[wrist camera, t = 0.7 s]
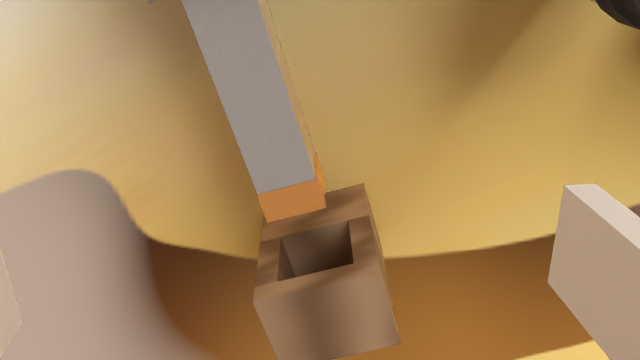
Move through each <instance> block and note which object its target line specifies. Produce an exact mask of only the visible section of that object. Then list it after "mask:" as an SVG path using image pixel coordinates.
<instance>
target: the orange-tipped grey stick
mask: <svg viewBox="0 0 640 360" xmlns="http://www.w3.org/2000/svg"><path fill="white" fill-rule="evenodd" d="M181 1H182V3H183V6H184V9H185V11H186V14H187V16H188V19H189V21H190V24H191V26H192V29H193V31H194V34H195V37H196V39H197V42H198V44H199V47H200V49H201V52H202V54H203V57H204V60H205V62H206V65H207V67H208V70H209V72H210V75H211V77H212V80H213V82H214V85H215V88H216V90H217V93H218V95H219V98H220V100H221V103H222V105H223V108H224V111H225V113H226V116H227V118H228V121H229V123H230V126H231V128H232V131H233V133H234V136H235V139H236V141H237V144H238V146H239V149H240V151H241V154H242V156H243V159H244V162H245V164H246V167H247V169H248V172H249V174H250V177H251V179H252V182H253V185H254V187H255V190H256V192H257V198H258V200H259V203H260V205H261V208H262V210H263V213H264V215H265V218H266V220H267V223H268V222H272V221H276V220H280V219H284V218H288V217H292V216H296V215H299V214H303V213H307V212H311V211H315V210H319V209H323V208H326V198H325V180H324V176H323V172H322V169H321V166H320V163H319V160H318V157H317V154H316V152H315V150H314V147H313V144H312V141H311V138H310V135H309V132H308V128H307V125H306V122H305V119H304V116H303V113H302V110H301V107H300V103H299V100H298V97H297V94H296V91H295V88H294V85H293V82H292V78H291V75H290V72H289V69H288V66H287V63H286V60H285V57H284V53H283V50H282V47H281V44H280V41H279V38H278V35H277V32H276V28H275V25H274V22H273V19H272V16H271V13H270V10H269V7H268V3H267V0H181Z"/></svg>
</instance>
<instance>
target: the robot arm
mask: <svg viewBox="0 0 640 360" xmlns="http://www.w3.org/2000/svg"><path fill="white" fill-rule="evenodd" d="M548 283H549V284H550V286H551V287H552V288H553V289H554V291H555V292H556V293H557V294H558V296H559V297H560V298H561V299H562V301H563V302H564V303H565V304H566V306H567V307H568V308H569V309H570V311H571V312H572V313H573V314H574V315H575V317H576V318H577V319H578V320H579V322H580V323H581V324H582V325H583V327H584V328H585V329H586V330H587V331H588V333H589V334H590V335H591V337H592V338H593V339H594V340H595V342H596V343H597V344H598V345H599V346H600V348H601V349H602V350H603V351H604V353H605V354H606V355H607V356H608V358H609V359H610V360H640V217H639V216H637V215H636V214H635V213H633V212H632V211H631V210H629V209H628V208H627V207H625V206H624V205H623V204H621V203H620V202H619V201H618V200H616V199H615V198H614V197H612V196H611V195H610V194H608V193H607V192H606V191H604V190H603V189H602V188H600V187H599V186H598V185H597V184H595V183H593V184H577V185H564V189H563V195H562V201H561V207H560V213H559V218H558V224H557V230H556V236H555V242H554V248H553V254H552V260H551V266H550V271H549V278H548ZM22 323H23V320H22V316H21V313H20V310H19V306H18V304H17V300H16V297H15V293H14V291H13V287H12V284H11V280H10V277H9V274H8V271H7V267H6V264H5V261H4V257H3V254H2V251H1V248H0V358H1V356H2V354H3V353H4V351H5V350H6V348H7V347H8V345H9V343H10V341H11V340H12V339H13V337H14V336H15V334H16V332H17V331H18V329H19V327H20V326H21V324H22Z"/></svg>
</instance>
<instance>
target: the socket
mask: <svg viewBox="0 0 640 360" xmlns="http://www.w3.org/2000/svg"><path fill="white" fill-rule="evenodd" d="M325 198H326V208H323V209H319V210H315V211H311V212H307V213H303V214H299V215H296V216H292V217H288V218H284V219H280V220H276V221H272V222H268V223H267V220H266V218H265V215H264V219H263V226H262V234H261V241H260V249H259V257H258V265H257V272H256V280H255V287H254V295H253V306H254V308H255V310H256V312H257V314H258V317H259V319H260V321H261V324H262V326H263V328H264V330H265V332H266V335H267V337H268V339H269V341H270V343H271V346H272V348H273V350H274V353H275V355H276V357H277V359H278V360H331V359H336V358H340V357H345V356H349V355H354V354H359V353H363V352H367V351H372V350H377V349H381V348H386V347H390V346H395V345H399V344H401V343H400V338H399V333H398V328H397V323H396V318H395V313H394V308H393V303H392V298H391V293H390V288H389V284H388V278H387V273H386V268H385V263H384V258H383V253H382V248H381V244H380V240H379V237H378V233H377V230H376V226H375V222H374V219H373V215H372V212H371V208H370V205H369V201H368V198H367V194H366V190H365V187H364V184H360V185H357V186H353V187H349V188H345V189H341V190H337V191H333V192H329V193H325Z"/></svg>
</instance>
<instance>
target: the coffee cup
mask: <svg viewBox="0 0 640 360" xmlns="http://www.w3.org/2000/svg"><path fill="white" fill-rule="evenodd" d="M592 1H594V2H596V3H597V4H598V5H599V7H600V8H601V9H602V10H603V11H604V12H606V13H607V14H608V15H610V16H611V17H612V18H613V19H615V20H616V21H617V22H619V23H622V24H625V25H628V26H631V27H633V28H636V29H639V30H640V0H592Z"/></svg>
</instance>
